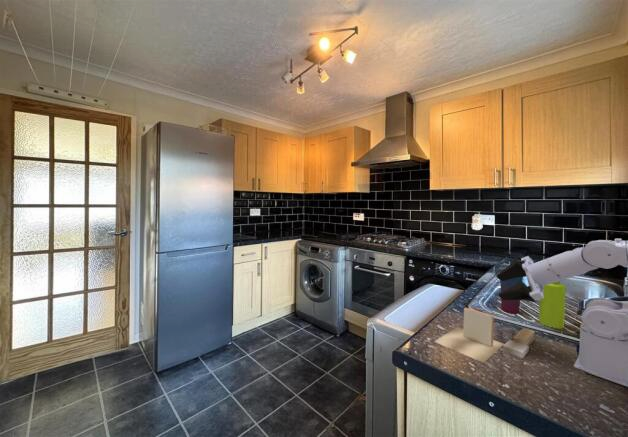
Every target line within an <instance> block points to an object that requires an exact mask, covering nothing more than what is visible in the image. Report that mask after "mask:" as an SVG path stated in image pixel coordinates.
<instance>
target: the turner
mask: <svg viewBox="0 0 628 437" xmlns="http://www.w3.org/2000/svg"><path fill="white" fill-rule="evenodd" d="M535 333H536V332H535V330H533V329H530V328H526V327H523V328H522V329H520V331H518V332H517V333H516V334H515V335H514V336H513V340H511V339H508V341H506V343H503V344H504V345H503V346H502V352H504V353H506V354H509V355H511V356H514V357H517V358H519V359H524V358H525V357H526V356H527V354H528V353H529V352H530V350H529V349H530V345H531V344H532V343H533V342H534V341H535V335H536V334H535Z"/></svg>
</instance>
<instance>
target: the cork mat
mask: <svg viewBox="0 0 628 437" xmlns="http://www.w3.org/2000/svg"><path fill="white" fill-rule="evenodd" d="M433 342H434V343H436V344H438V345H440V346H444V347H446V348H448V349H450V350H452V351H455V352H457V353H459V354H461V355H464V356H466V357H469V358H472V359H474V360H476V361H478V362H481V363H483V364H484V363H485V362H487V360H488V359H490V358H491V357H492V356H493V355H495V354H496V352H497V351H499V350H500V349H501V348H503V345H504V344H505V343H502V342H501V341H497V340H495V339H493V346H492V347H491V346H488V345H486V344H483V343H480V342H478V341H475V340H472V339H470V338H467V337H464V336H463V328H460V327H458V326H456V327H455V328H454V329H452V330H451V331H449V332H448V333H446V334H444V335H442V336H440V337H439V338H437V339H436V340H434V341H433Z"/></svg>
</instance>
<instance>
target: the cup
mask: <svg viewBox="0 0 628 437" xmlns="http://www.w3.org/2000/svg"><path fill="white" fill-rule="evenodd" d="M506 268H507V267H500V268H499V273H500V272H501V271H503V270H504V269H506ZM523 280H524V277H518V278H513V279H509V280H506V281H500V280H499V282H500V292H502V291H505V290H508V289H510V288H512V287H514V286H515V285H516V284H518V283H519V282H520V281H522V282H523V283H524V281H523ZM500 303H501V304H500V305H501V307H500V308H501V310H502V311H503V312H505V313H509V314H514V315H515V314H516V315H517V314H519V313H520V307H521V300H503V299H502V298H501V297H500Z"/></svg>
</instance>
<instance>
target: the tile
mask: <svg viewBox="0 0 628 437" xmlns="http://www.w3.org/2000/svg"><path fill="white" fill-rule="evenodd" d="M494 324H495V316H494V315H492V314H489V313H485V312H483V311H478V310H475V309H471V308H468V307H463V328H462V329H463V336H464V337H467V338H470V339H472V340H475V341H478V342H480V343H483V344H486V345H488V346H491V347H492V346H493V340H494V332H495V331H494V330H495V329H494V328H495V326H494Z"/></svg>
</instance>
